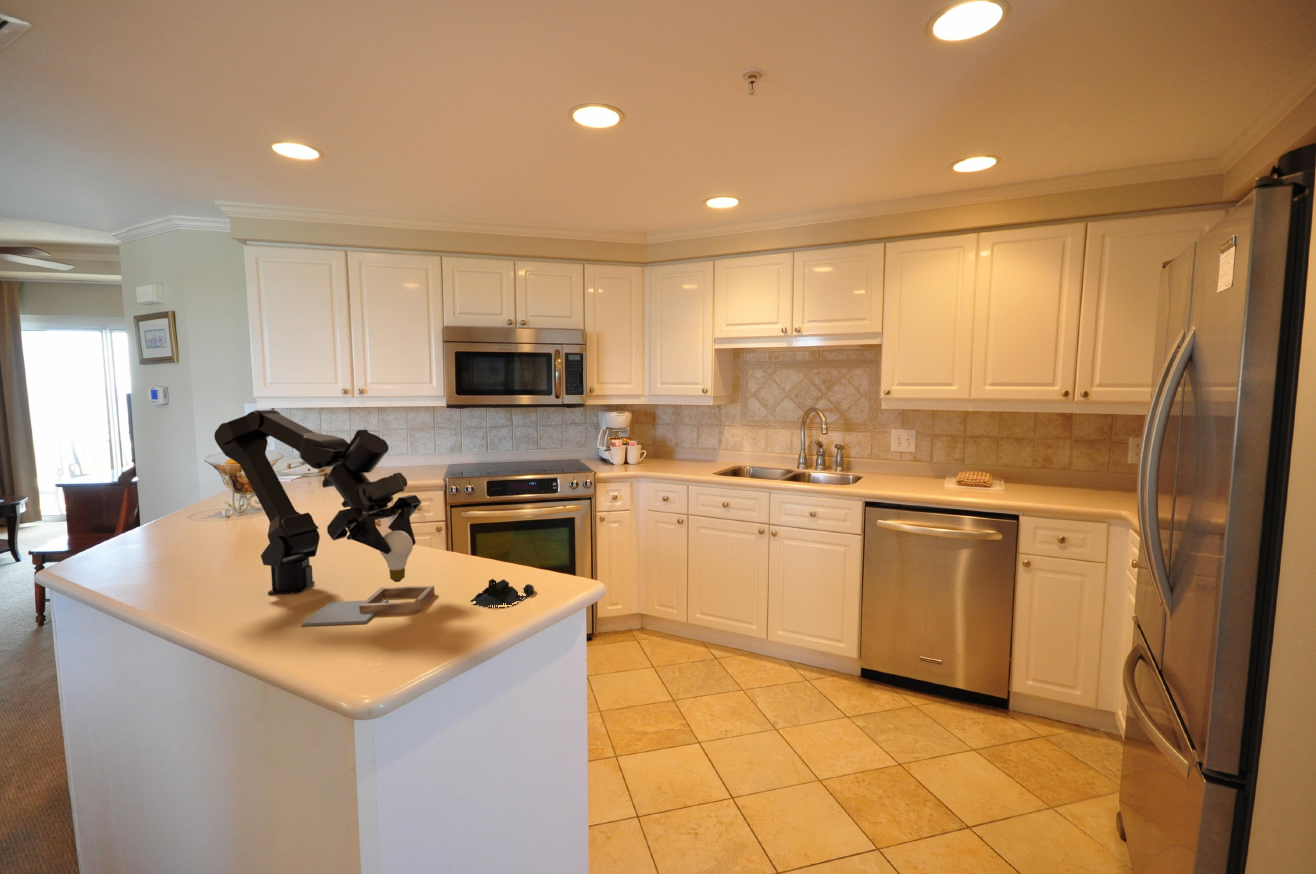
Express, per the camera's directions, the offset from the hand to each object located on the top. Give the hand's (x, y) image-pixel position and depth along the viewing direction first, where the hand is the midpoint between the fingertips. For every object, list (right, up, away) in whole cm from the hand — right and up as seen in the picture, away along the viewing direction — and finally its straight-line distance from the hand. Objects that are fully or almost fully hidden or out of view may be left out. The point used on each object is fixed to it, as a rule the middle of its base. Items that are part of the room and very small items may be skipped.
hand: (402, 548), depth 114 cm
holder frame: (-1, -11, +1) cm, 11 cm away
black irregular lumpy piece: (+18, -11, +4) cm, 22 cm away
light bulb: (-1, -7, +1) cm, 7 cm away
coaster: (-9, -11, -3) cm, 15 cm away
